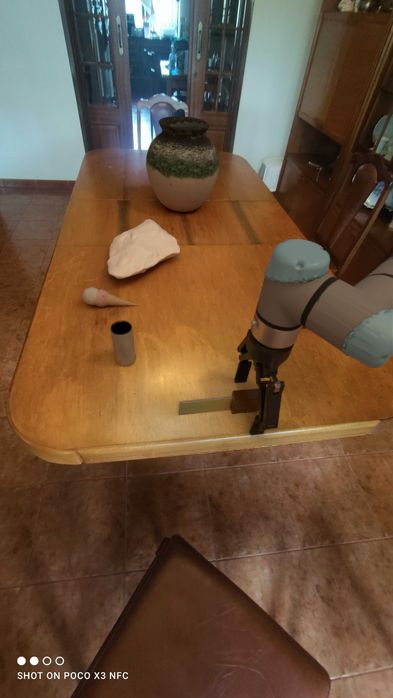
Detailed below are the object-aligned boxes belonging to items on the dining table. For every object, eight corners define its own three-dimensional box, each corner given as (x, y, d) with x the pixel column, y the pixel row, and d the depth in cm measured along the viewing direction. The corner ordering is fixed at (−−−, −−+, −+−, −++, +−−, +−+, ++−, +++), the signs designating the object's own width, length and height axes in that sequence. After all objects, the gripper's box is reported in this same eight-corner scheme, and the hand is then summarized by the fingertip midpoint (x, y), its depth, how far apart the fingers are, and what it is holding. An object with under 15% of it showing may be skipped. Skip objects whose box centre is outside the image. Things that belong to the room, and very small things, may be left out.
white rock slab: (188, 236, 114) (185, 211, 108) (168, 293, 90) (163, 264, 84) (126, 237, 118) (120, 213, 112) (91, 292, 94) (81, 265, 87)
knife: (264, 400, 69) (270, 386, 65) (268, 410, 67) (274, 396, 64) (177, 409, 66) (178, 395, 62) (179, 419, 64) (180, 406, 61)
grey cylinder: (128, 349, 76) (124, 317, 69) (139, 360, 74) (136, 328, 67) (112, 358, 74) (105, 326, 67) (123, 370, 72) (118, 338, 65)
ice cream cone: (139, 301, 91) (85, 290, 87) (141, 294, 87) (84, 282, 83) (136, 316, 90) (81, 306, 86) (138, 310, 85) (80, 298, 82)
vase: (157, 224, 122) (154, 133, 100) (141, 195, 140) (136, 112, 118) (224, 218, 130) (236, 132, 108) (201, 191, 148) (207, 113, 126)
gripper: (233, 289, 59) (219, 363, 75) (274, 398, 43) (245, 463, 59) (271, 288, 61) (249, 360, 76) (325, 393, 44) (283, 458, 60)
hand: (247, 405), depth 68 cm, fingers open, 12 cm apart
